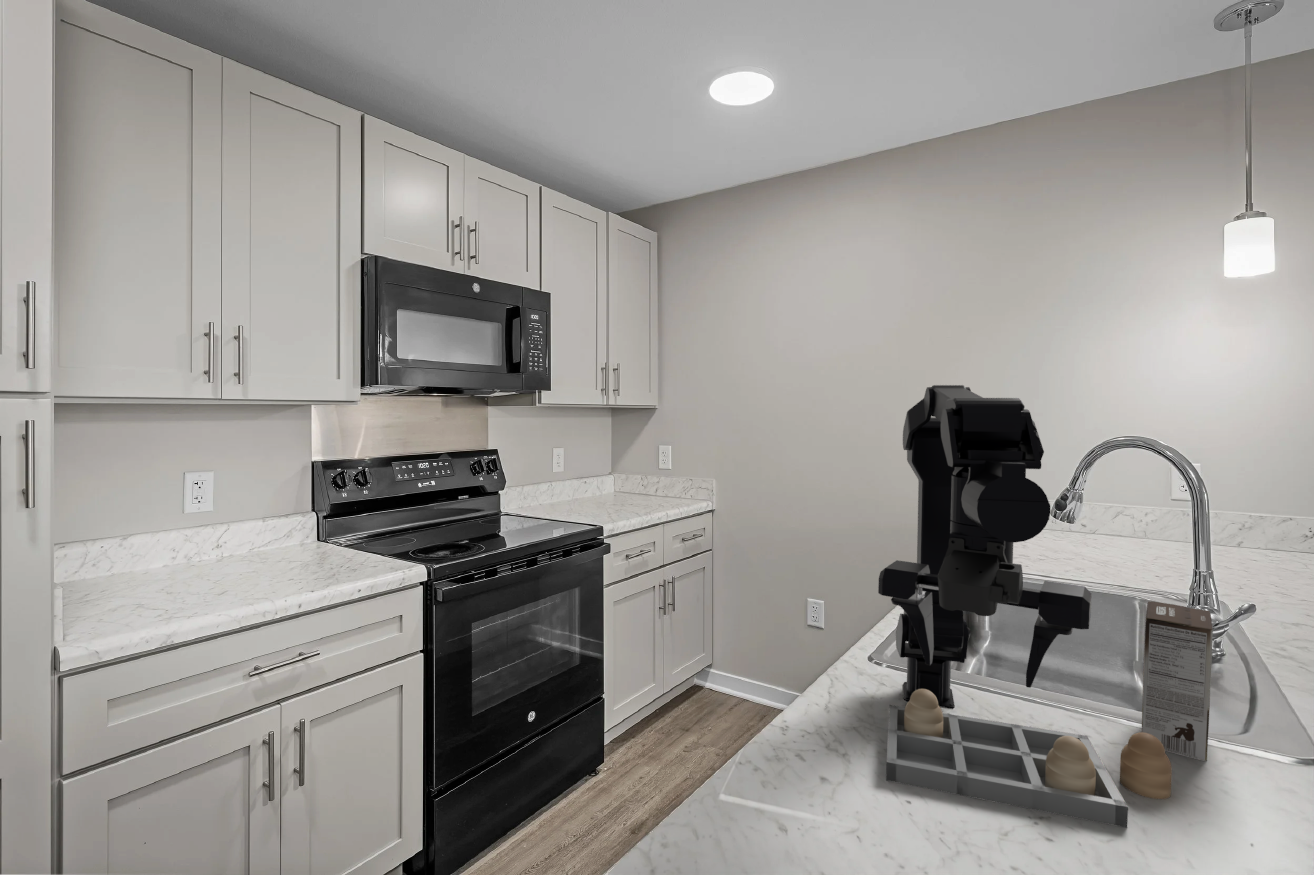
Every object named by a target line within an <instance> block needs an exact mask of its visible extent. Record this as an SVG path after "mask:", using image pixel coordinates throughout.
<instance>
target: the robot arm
mask: <svg viewBox="0 0 1314 875" xmlns="http://www.w3.org/2000/svg"><path fill="white" fill-rule="evenodd" d="M902 448H903V450H904V451H906V461H907V464H908V465H909V466H910V468H911V471H913V473H914V474H915V476H916V479H917V480H918V487H917V488H918V490H917V492H918V494H917V496H918V498H917V535H916V538H917V539H916V540H917V546H916V562H913V561H912V562H911V561H904V560H897V559H896V560H895V561H893V562H892V563H891V564H889V565H888V566H885V568H883V569H882V570H881V571H880V572H879V575H878V586H877V588H878V590H877V592H878V594H879V595H880V596H882V597H883V596H884V597H888V598H889V597H890V601H891V603H892V605H895V606H899V607H900V608H901V609H902V610H903V613H900V614H899V616H898V617H899V618H898V619H897V625H896V630H895V647H896V649H897V650H896V651H897V652H898V655H899V657H900V658H902V659H903V658H906V664H907V665H906V681H904V682H903V701H904V702H907V703H908V702H909V701H910V697H911V695H912V693H913V692H914V691H916V690H918V689H927V690H929V691H931V692H932V693H933V694H934V695H935V696H936V698H937V700H938V705H939V707H940V708H945V709H946V708H947V709H952V710H953V709H955V700H954V694H953V690H952V688H951V679H952V678H951V677H952V676H951V673H952V671H951V670H952V662H953V663H954V662H956V663H961V664H965V661H966V659H967V656H968V655H967V653H968V646H969V640H970V637H971V634H972V633H971V629H970V627H968V624H967V621H966V618H964V612H968V613H974V614H976V616H980V617H992V616H994V615H995V614H996V612H997V608H998V604H1000V605H1001V604H1002V605H1008V606H1013V607H1018V608H1026V609H1032V610H1038V611H1037V614H1038V615H1037V618H1036V620H1035V623H1034V626H1033V633H1032V635H1033V636H1032V640H1031V646H1030V651H1029V656H1028V660H1027V661H1028V662H1027V666H1026V672H1025V687H1026V688H1032V685H1033V684H1034V680H1035V678H1036V676H1037V673H1038V671H1039V668H1040V666H1041V664H1042V661H1043V660H1044V657H1045V655H1046V653H1047V651H1048V649H1050V646H1051V645H1052V644H1053V642H1054V640H1055V639H1056V638H1057V637H1058V636H1059V635H1063V636H1071V635H1072V634H1073V630H1074V629H1076V630H1089V629H1090V625H1091V624H1090V622H1091V616H1092V593H1091V591H1090V590H1089V589H1088V588H1087V587H1086V586H1083V585H1079V584H1077V585H1076V584H1070V583H1064V582H1057V581H1049V580H1044V581H1043V583H1042V586H1041V588H1040V589H1036V588H1028V587H1024V583H1023V582H1024V574H1023V566H1022V564H1018V563H1013V562H1014V543H1022V542H1026V541H1028V540H1031V539H1033V538H1034V537H1036V536H1038V535H1039V534H1040V533H1041V532H1042V531H1043V530H1044V529H1045V528H1046V526H1047V524H1048V522H1049V521H1050V515H1051V504H1050V502H1049V498H1048V497H1047V494H1046V493H1045V491H1044V490H1043V488H1042V487H1041V486H1040V485H1038V483H1037V482H1035V481H1033V480H1031V479H1030V478H1027V476H1026V474H1027V473H1026V472H1027V470H1040V469H1042V458H1043V456H1044V453H1045V451H1044V448H1043V445H1042V441H1041V439H1040V435H1039V432H1038V429H1037V426H1036V423H1035V421H1034V420H1033V418H1032V414H1031V412H1030V409H1027V408H1025V403H1024V402H1023V401H1022V400H1021V398H1019V397H983V396H980V395H979V394H977V393H975V392H972V391H971V388H970V387H969V386H965V385H963V384H959V385H957V384H955V385H954V384H948V385H947V384H945V385H944V384H942V385H941V384H934V385H932V386H931V387H930V386H929V387H926V389H925V392H924V397H923V398H922V399H921V400H920V401H918V402H917V403H916V404H914V405H913V406H912V407H911V408H909V409H908V410H907V412H906V416H905V419H904V424H903V430H902Z"/></svg>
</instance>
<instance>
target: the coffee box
mask: <svg viewBox="0 0 1314 875" xmlns="http://www.w3.org/2000/svg"><path fill="white" fill-rule="evenodd" d="M1212 621H1213V620H1212V615H1211V612H1210V610H1205V609H1198V608H1192V607H1188V606H1185V605H1178V604H1175V603H1174V604H1173V603H1166V602H1160V601H1153V600H1151V601H1147V604H1146V614H1145V625H1144V647H1143V648H1144V650H1143V670H1142V672H1143V673H1142V700H1141V701H1142V703H1141V705H1142V706H1141V732H1144V733H1149V734H1151V735H1153V736H1155V737H1156V738H1157V739H1159V740H1160V742H1161V743H1162V744H1163V746H1164V749H1165V752H1169V753H1173V754H1176V755H1180V756H1184V757H1187V758H1191V759H1195V760H1199V761H1203V762H1207V761H1208V747H1209V746H1208V743H1209V728H1210V727H1209V726H1210V708H1211V707H1210V706H1211V686H1212V685H1211V684H1212V682H1211V681H1212V661H1213V658H1212V656H1213V634H1214V628H1213V622H1212Z"/></svg>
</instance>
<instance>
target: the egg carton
mask: <svg viewBox="0 0 1314 875" xmlns="http://www.w3.org/2000/svg"><path fill="white" fill-rule="evenodd" d="M905 707H906V706H900V705H894V704H889V707H888V724H887V725H888V726H887V727H888V728H887V744H886V745H887V746H886V747H887V748H886V764H885V766H886V769H885V770H886V772H885V773H886V774H885V778H886V779H885V780H886V782H891V783H898V784H901V785H907V786H911V787H919V788H922V789H928V790H933V791H939V792H943V793H948V794H952V795H958V796H963V797H969V798H973V799H979V800H984V801H989V802H994V803H999V804H1003V805H1008V806H1015V807H1020V808H1024V809H1029V810H1034V811H1035V810H1036V811H1039V812H1045V813H1051V814H1054V815H1060V816H1064V817H1070V818H1073V819H1074V818H1075V819H1080V820H1086V821H1090V822H1096V823H1099V824H1100V823H1101V824H1104V825H1105V824H1107V825H1110V826H1115V827H1121V828H1126V829H1127V828H1128V817H1129V815H1128V814H1129V807H1128V805H1127V803H1126V801H1125V800H1124V797H1123V795H1122V794H1121V792H1120V791H1119V789H1118V787H1117V786H1116V783H1115V781H1114V780H1113V778H1112V776H1111V774H1110V773H1109V771H1108V769H1107V768H1106V766H1105V765H1104V763H1103V760H1102V759H1101V757H1100V756H1099V754H1098V752H1097V750H1096V749H1095V747H1094V745H1093V744H1092V742H1091V740H1090V738H1089V736H1088V735H1085V734H1078V733H1071V732H1066V731H1061V730H1059V731H1058V730H1052V729H1048V728H1047V729H1046V728H1039V727H1036V726H1035V727H1033V726H1027V725H1022V724H1021V725H1019V724H1016V723H1015V724H1014V723H1009V722H1008V723H1007V722H1003V721H995V720H990V719H989V720H988V719H983V718H976V717H970V716H964V715H959V714H952V713H951V714H950V713H945V712H942V713H943V738H939V737H933V736H927V735H922V734H916V733H910V732H904V712H905ZM1062 736H1072V737H1075V738H1077V739H1079V740H1080V741H1081V742H1083V744H1084V745H1085V746H1086V747H1087V749H1088V752H1089V757H1090V759H1091V760H1092V762H1093V764H1094V766H1095V770H1096V783H1095V796H1093V795H1087V794H1082V793H1077V792H1071V791H1066V790H1060V789H1055V788H1049V787H1045V774H1046V757H1047V755H1048V753H1049V751H1050V750H1051V749H1052V748H1053V745H1054V743H1055V741H1056V740H1057V739H1058V738H1060V737H1062Z"/></svg>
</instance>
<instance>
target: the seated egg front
mask: <svg viewBox="0 0 1314 875" xmlns="http://www.w3.org/2000/svg"><path fill="white" fill-rule="evenodd" d="M1095 783H1096V770H1095V766H1094V764H1093V762H1092V760H1091V759H1090V757H1089V752H1088V749H1087V747H1086V746H1085V745H1084V744H1083V742H1081V741H1080V740H1079V739H1077V738H1075V737H1072V736H1062V737H1060V738H1058V739H1057V740H1056V741H1055V743H1054V745H1053V748H1052V749H1051V750H1050V751H1049V753H1048V755H1047V757H1046V774H1045V787H1049V788H1055V789H1060V790H1066V791H1071V792H1077V793H1082V794H1087V795H1093V796H1095Z"/></svg>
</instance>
